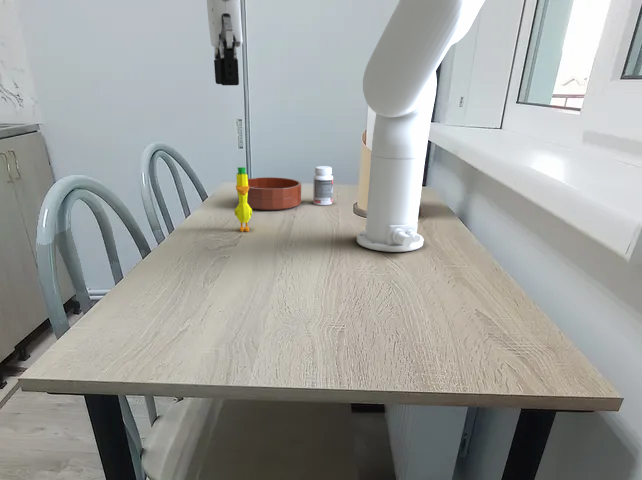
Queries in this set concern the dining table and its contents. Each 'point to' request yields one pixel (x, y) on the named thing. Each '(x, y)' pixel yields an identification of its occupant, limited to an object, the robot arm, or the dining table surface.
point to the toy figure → (242, 199)
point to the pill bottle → (323, 186)
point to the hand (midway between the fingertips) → (226, 84)
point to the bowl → (273, 193)
